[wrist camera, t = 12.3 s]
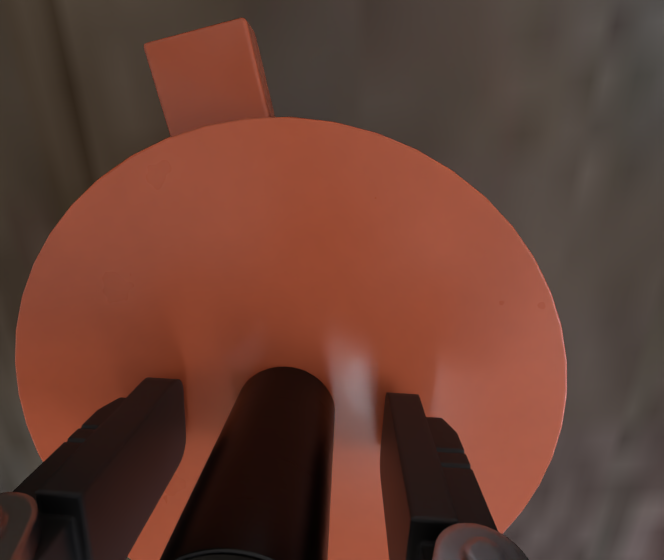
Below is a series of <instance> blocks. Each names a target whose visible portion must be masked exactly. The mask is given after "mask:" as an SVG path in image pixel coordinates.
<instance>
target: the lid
mask: <svg viewBox="0 0 664 560" xmlns="http://www.w3.org/2000/svg"><path fill="white" fill-rule="evenodd" d="M15 367H16V375H17V384H18V393H19V397H20V401H21V405H22V409H23V413H24V417H25V421H26V425H27V427H28V429H29V432H30V434H31V437H32V439H33V442H34V444H35V447H36V449H37V452H38V454H39V456H40V458H41V459H42V461H43V462H44V461H45V460H46V459H47V458H48V457H49V456H50V455H51V454H52V453H53V452H54V451H55V450H56V449H57V448H58V447H60V446H61V445H62V444H63V443H64V442H67V441H68V438H69V437H70V436H71V435H72V434H73V433H74V432H75V431H76V430H77V429H78V428H80V429H81V426H82V424H83V423H84V422H85V421H86V420H88V419H89V418H90V417H91V416H92V415H93V414H94V413H95V412H96V411H97V410H98V409H100V408H102V407H103V406H105V405H107V404H109V403H111V402H112V401H114V400H116V399H118V398H120V397H124V398H126V397H127V396H128V395H129V394H130V393H131V392H132V391H133V390H134V389H135V388H136V387H137V386H138V385H139V384H140V383H141V382H142V381H143V380H144V379H145V378H147V377H152V378H169V379H180V380H181V382H182V384H183V390H184V407H185V425H186V444H185V450H184V454H183V457H182V460H181V462H180V464H179V466H178V468H177V470H176V472H175V473H174V475H173V477H172V479H171V480H170V482H169V484H168V486H167V488H166V489H165V491H164V493H163V495H162V496H161V498H160V500H159V502H158V503H157V505H156V507H155V509H154V510H153V512H152V514H151V516H150V517H149V519H148V521H147V523H146V525H145V526H144V528H143V530H142V532H141V533H140V535H139V537H138V539H137V540H136V542H135V544H134V546H133V547H132V549H131V551H130V553H129V555H128V556H127V557H129V558H130V559H131V560H389V553H388V544H387V534H386V525H385V516H384V507H383V497H382V488H381V479H380V448H381V437H382V426H383V415H384V405H385V397H386V393H387V392H391V393H407V394H418V395H419V397H420V400H421V403H422V406H423V409H424V412H425V415H426V417H437V418H443V419H444V420H445V421H446V422H447V423H448V424H449V425H450V426H451V427H452V428H453V429H454V430H455V431H456V432H457V434H458V436H459V439H460V441H461V443H462V446H463V448H464V453H465V454H466V455H467V458H468V460H469V463H470V465H471V469H472V470H473V472H474V475H475V477H476V479H477V482H478V484H479V487H480V489H481V491H482V494H483V496H484V499H485V501H486V503H487V506H488V508H489V511H490V513H491V515H492V518H493V520H494V523H495V525H496V527H497V530H498V532H500V533H501V534H503V533H504V532H505V531H506V529H507V528H508V527H509V526H510V525H511V524H512V522H513V521H514V520H515V519H516V518H517V517H518V515H519V514H520V513H521V512H522V511H523V509H524V508H525V506H526V505H527V503H528V502H529V500H530V499H531V497H532V495H533V494H534V492H535V491H536V489H537V488H538V486H539V485H540V483H541V480H542V478H543V476H544V474H545V472H546V470H547V468H548V466H549V463H550V461H551V459H552V457H553V454H554V451H555V448H556V444H557V441H558V438H559V434H560V431H561V428H562V423H563V416H564V410H565V403H566V396H567V358H566V352H565V345H564V339H563V332H562V326H561V322H560V319H559V316H558V313H557V310H556V307H555V303H554V300H553V297H552V294H551V291H550V289H549V287H548V285H547V283H546V281H545V279H544V277H543V274H542V272H541V270H540V268H539V266H538V264H537V262H536V260H535V258H534V257H533V255H532V254H531V252H530V251H529V249H528V248H527V246H526V245H525V244H524V242H523V241H522V239H521V238H520V236H519V235H518V233H517V232H516V231H515V229H514V228H513V226H512V225H511V224H510V223H509V222H508V221H507V220H506V219H505V217H504V216H503V215H502V214H501V213H500V212H499V211H498V210H497V209H496V208H495V207H494V206H493V205H492V204H491V203H490V201H489V200H488V199H487V198H486V197H485V196H484V195H482V194H481V193H480V192H479V191H477V190H476V189H475V188H474V187H472V186H471V185H470V184H469V183H467V182H466V181H465V180H464V179H462V178H461V177H460V176H459V175H457V174H456V173H455V172H454V171H452V170H451V169H449V168H447V167H446V166H444V165H442V164H440V163H439V162H437V161H435V160H434V159H432V158H430V157H429V156H427V155H425V154H423V153H422V152H420V151H418V150H417V149H415V148H412V147H410V146H407V145H405V144H402V143H400V142H398V141H395V140H393V139H390V138H388V137H386V136H383V135H381V134H378V133H376V132H372V131H368V130H364V129H360V128H356V127H352V126H348V125H345V124H341V123H337V122H332V121H323V120H314V119H305V118H296V117H268V118H245V119H239V120H234V121H228V122H222V123H216V124H210V125H205V126H202V127H199V128H196V129H193V130H190V131H187V132H184V133H181V134H178V135H175V136H171V137H168V138H166V139H164V140H162V141H160V142H158V143H156V144H154V145H152V146H150V147H148V148H146V149H144V150H142V151H140V152H138V153H136V154H134V155H132V156H130V157H129V158H127V159H126V160H124V161H123V162H121V163H120V164H119V165H117V166H116V167H114V168H113V169H112V170H110V171H109V172H107V173H106V174H104V175H103V176H102V177H100V178H99V179H98V180H97V181H96V182H95V183H94V184H93V185H92V186H91V187H90V188H89V189H87V190H86V191H85V192H84V193H83V194H82V195H81V196H80V197H79V198H78V199H77V200H76V201H75V202H74V203H73V204H72V205H71V206H70V208H69V209H68V210H67V212H66V213H65V214H64V216H63V217H62V218H61V220H60V221H59V222H58V224H57V225H56V226H55V228H54V229H53V230H52V232H51V233H50V234H49V236H48V238H47V240H46V242H45V244H44V245H43V247H42V249H41V251H40V253H39V255H38V257H37V259H36V260H35V262H34V264H33V267H32V270H31V272H30V275H29V278H28V281H27V284H26V287H25V290H24V293H23V295H22V300H21V305H20V310H19V316H18V321H17V327H16V345H15Z"/></svg>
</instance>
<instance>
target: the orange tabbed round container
mask: <svg viewBox="0 0 664 560" xmlns="http://www.w3.org/2000/svg"><path fill="white" fill-rule="evenodd" d="M144 50H145V54H146V57H147V60H148V64H149V67H150V70H151V73H152V77H153V80H154V83H155V87H156V90H157V93H158V96H159V100H160V103H161V106H162V110H163V113H164V116H165V119H166V123H167V126H168V129H169V133H170V136H175V135H178V134H181V133H184V132H187V131H190V130H193V129H196V128H199V127H202V126H205V125H210V124H216V123H222V122H228V121H234V120H239V119H245V118H268V117H275V116H274V111H273V107H272V103H271V99H270V95H269V90H268V86H267V82H266V78H265V74H264V69H263V65H262V61H261V57H260V53H259V48H258V44H257V40H256V36H255V33H254V31H253V30H252V28H251V27H250V25H249V24H248V22H247V21H246V19H245V18H238V19H234V20H230V21H226V22H223V23H219V24H215V25H211V26H208V27H204V28H200V29H197V30H193V31H189V32H185V33H182V34H178V35H174V36H170V37H167V38H163V39H159V40H155V41H152V42H148V43H145V44H144Z"/></svg>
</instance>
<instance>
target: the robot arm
mask: <svg viewBox="0 0 664 560" xmlns="http://www.w3.org/2000/svg"><path fill="white" fill-rule="evenodd" d="M185 444H186V425H185V407H184V390H183V384H182V382H181V380H180V379H169V378H152V377H147V378H145V379H144V380H143V381H142V382H141V383H140V384H139V385H138V386H137V387H136V388H135V389H134V390H133V391H132V392H131V393H130V394H129V395H128V396H127V397H126V398H124V397H120V398H118V399H116V400H114V401H112V402H111V403H109V404H107V405H105V406H103V407H102V408H100V409H98V410H97V411H96V412H95V413H94V414H93V415H92V416H91V417H90V418H89V419H88V420H86V421H85V422H84V423H83V424H82V426H81V429H80V428H78V429H77V430H76V431H75V432H74V433H73V434H72V435H71V436H70V437H69V438H68V441H67V442H64V443H63V444H62V445H61V446H60V447H58V448H57V449H56V450H55V451H54V452H53V453H52V454H51V455H50V456H49V457H48V458H47V459H46V460H45V461H44V462H43V463H42V464H41V465H40V466H39V467H38V468H37V469H36V470H35V471H34V472H33V473H32V474H30V475H29V476H28V477H27V478H26V479H25V480H24V481H23V482H22V483H21V484H20V485H19V486H18V487H17V488H16V489H15V490H14V491H13V492H5V493H0V560H126V558H127V556H128V555H129V553H130V551H131V549H132V547H133V546H134V544H135V542H136V540H137V539H138V537H139V535H140V533H141V532H142V530H143V528H144V526H145V525H146V523H147V521H148V519H149V517H150V516H151V514H152V512H153V510H154V509H155V507H156V505H157V503H158V502H159V500H160V498H161V496H162V495H163V493H164V491H165V489H166V488H167V486H168V484H169V482H170V480H171V479H172V477H173V475H174V473H175V472H176V470H177V468H178V466H179V464H180V462H181V460H182V457H183V454H184V450H185ZM380 479H381V488H382V497H383V507H384V516H385V525H386V534H387V544H388V553H389V560H529V559H528V558H527V557H526V555H525V554H524V553H523V551H522V550H521V549H520V548H519V547H518V546H517V545H516V544H515V543H514V542H512V541H511V540H510V539H509V538H507V537H506V536H504V535H503V534H501V533H500V532H498V530H497V527H496V525H495V523H494V520H493V518H492V515H491V513H490V511H489V508H488V506H487V503H486V501H485V499H484V496H483V494H482V491H481V489H480V487H479V484H478V482H477V479H476V477H475V475H474V472H473V470H472V469H471V465H470V463H469V460H468V458H467V455H466V454H465V453H464V448H463V446H462V443H461V441H460V439H459V436H458V434H457V432H456V431H455V430H454V429H453V428H452V427H451V426H450V425H449V424H448V423H447V422H446V421H445V420H444V419H443V418H437V417H426V415H425V412H424V409H423V406H422V403H421V400H420V397H419V395H418V394H407V393H391V392H387V393H386V397H385V405H384V415H383V426H382V437H381V448H380Z"/></svg>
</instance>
